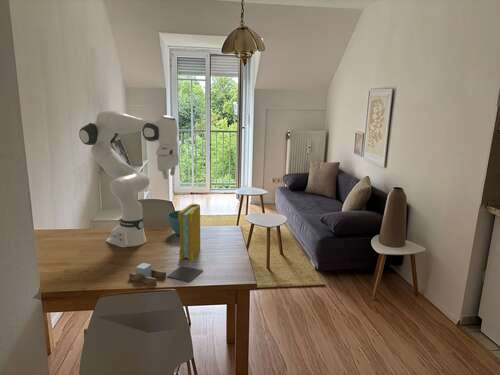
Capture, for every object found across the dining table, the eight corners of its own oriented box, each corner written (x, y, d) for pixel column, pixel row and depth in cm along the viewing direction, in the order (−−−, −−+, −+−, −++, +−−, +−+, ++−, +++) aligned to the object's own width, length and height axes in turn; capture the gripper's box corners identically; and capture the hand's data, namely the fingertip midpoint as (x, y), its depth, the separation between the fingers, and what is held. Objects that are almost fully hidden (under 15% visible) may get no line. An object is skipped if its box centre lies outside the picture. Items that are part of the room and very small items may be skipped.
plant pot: (169, 240, 216) (168, 219, 213) (167, 229, 233) (166, 210, 230) (200, 237, 221) (200, 217, 218) (196, 227, 238) (196, 209, 235)
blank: (136, 279, 169) (136, 267, 168) (143, 274, 173) (143, 262, 172) (144, 281, 167) (144, 268, 166) (151, 276, 172) (151, 264, 170)
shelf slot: (129, 279, 169) (129, 273, 168) (140, 272, 176) (140, 266, 175) (155, 285, 163) (155, 279, 163) (165, 277, 171) (165, 271, 170)
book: (191, 260, 190) (191, 213, 184) (179, 259, 191) (178, 212, 185) (202, 248, 206) (202, 204, 200) (191, 246, 207) (190, 203, 201)
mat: (167, 277, 172) (167, 276, 171) (181, 266, 182) (181, 265, 182) (189, 282, 167) (189, 281, 167) (203, 271, 178) (203, 270, 178)
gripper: (169, 146, 193) (170, 172, 196) (154, 151, 173) (155, 180, 177) (181, 147, 192) (181, 173, 196) (167, 152, 173) (168, 181, 176)
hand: (169, 177), depth 186 cm, fingers open, 8 cm apart
